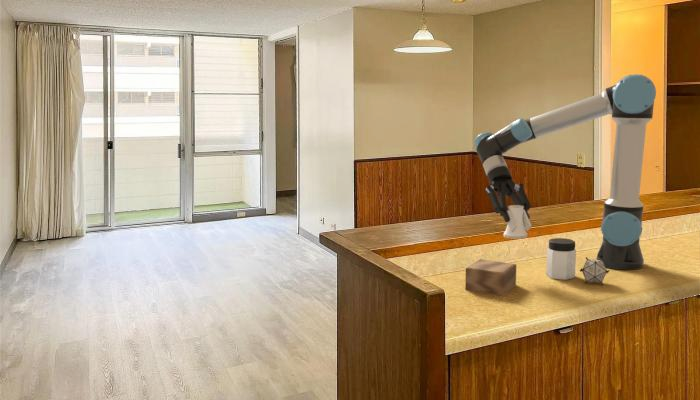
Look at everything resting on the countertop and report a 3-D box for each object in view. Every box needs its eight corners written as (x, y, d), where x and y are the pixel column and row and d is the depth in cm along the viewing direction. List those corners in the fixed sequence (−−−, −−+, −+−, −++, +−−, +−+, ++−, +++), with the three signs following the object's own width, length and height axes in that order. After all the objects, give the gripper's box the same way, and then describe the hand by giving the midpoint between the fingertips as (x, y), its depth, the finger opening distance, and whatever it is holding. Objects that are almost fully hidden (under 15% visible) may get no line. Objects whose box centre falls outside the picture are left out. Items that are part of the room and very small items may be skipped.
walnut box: (515, 285, 188) (516, 263, 187) (503, 296, 178) (503, 273, 177) (479, 280, 194) (479, 258, 193) (465, 290, 184) (465, 267, 183)
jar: (562, 281, 190) (563, 245, 188) (541, 275, 197) (542, 240, 195) (579, 276, 195) (581, 241, 193) (558, 271, 202) (560, 236, 200)
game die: (596, 293, 190) (615, 267, 190) (598, 291, 182) (618, 265, 182) (571, 276, 193) (590, 251, 193) (572, 274, 186) (591, 248, 185)
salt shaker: (530, 238, 191) (531, 208, 190) (507, 239, 191) (508, 209, 189) (522, 233, 199) (523, 203, 197) (500, 234, 198) (500, 204, 197)
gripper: (516, 177, 209) (540, 233, 196) (470, 179, 204) (492, 237, 191) (524, 163, 203) (551, 220, 190) (477, 166, 198) (501, 224, 185)
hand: (521, 228), depth 191 cm, fingers closed on salt shaker, 5 cm apart
